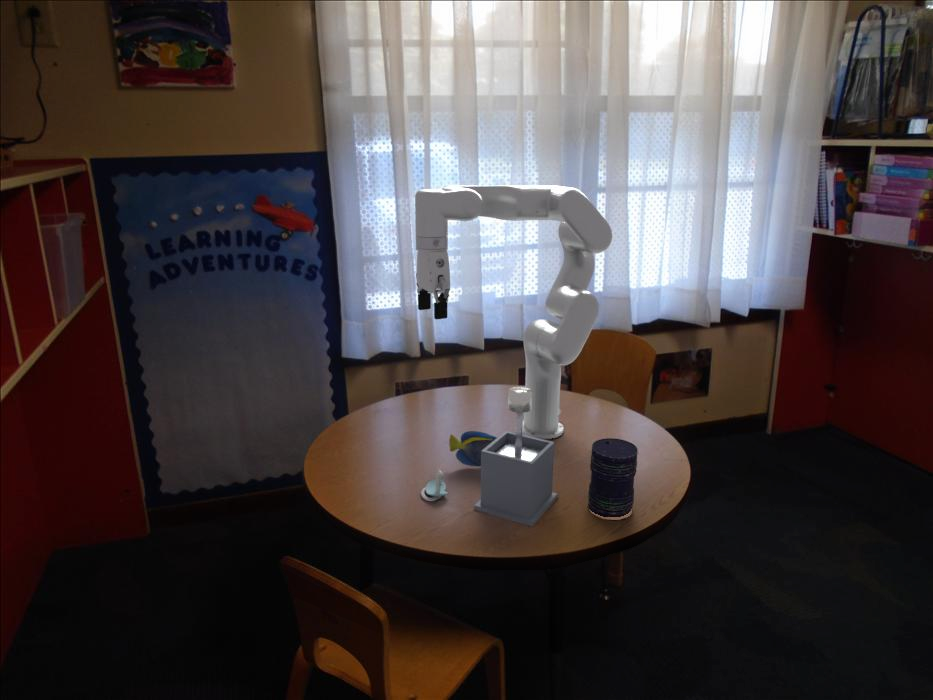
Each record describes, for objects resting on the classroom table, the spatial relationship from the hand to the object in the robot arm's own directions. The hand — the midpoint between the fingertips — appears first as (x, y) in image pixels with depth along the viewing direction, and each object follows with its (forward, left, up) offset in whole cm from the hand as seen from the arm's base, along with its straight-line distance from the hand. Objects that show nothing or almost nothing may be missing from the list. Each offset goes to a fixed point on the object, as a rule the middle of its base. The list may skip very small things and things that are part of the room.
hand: (432, 313), depth 166 cm
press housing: (+12, +29, -37) cm, 49 cm away
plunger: (+12, +29, -26) cm, 41 cm away
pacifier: (+18, +11, -38) cm, 43 cm away
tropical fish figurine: (+1, +14, -38) cm, 40 cm away
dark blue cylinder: (+4, +48, -38) cm, 61 cm away
